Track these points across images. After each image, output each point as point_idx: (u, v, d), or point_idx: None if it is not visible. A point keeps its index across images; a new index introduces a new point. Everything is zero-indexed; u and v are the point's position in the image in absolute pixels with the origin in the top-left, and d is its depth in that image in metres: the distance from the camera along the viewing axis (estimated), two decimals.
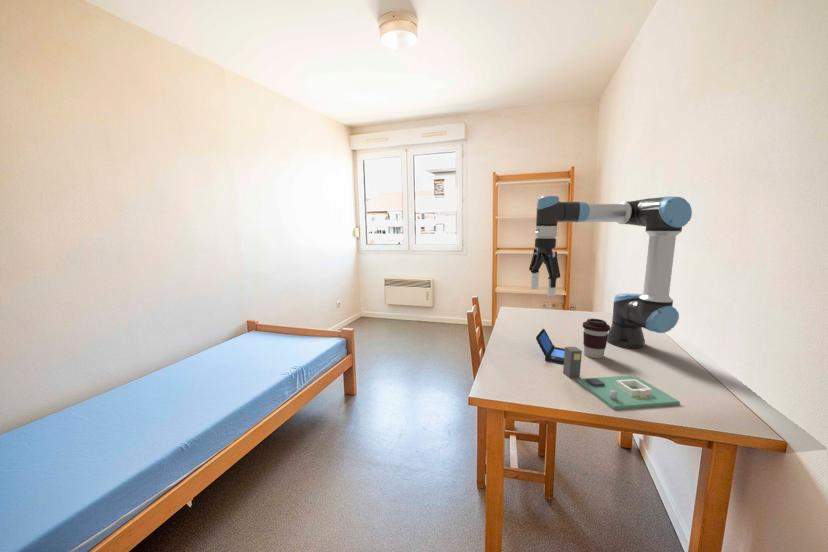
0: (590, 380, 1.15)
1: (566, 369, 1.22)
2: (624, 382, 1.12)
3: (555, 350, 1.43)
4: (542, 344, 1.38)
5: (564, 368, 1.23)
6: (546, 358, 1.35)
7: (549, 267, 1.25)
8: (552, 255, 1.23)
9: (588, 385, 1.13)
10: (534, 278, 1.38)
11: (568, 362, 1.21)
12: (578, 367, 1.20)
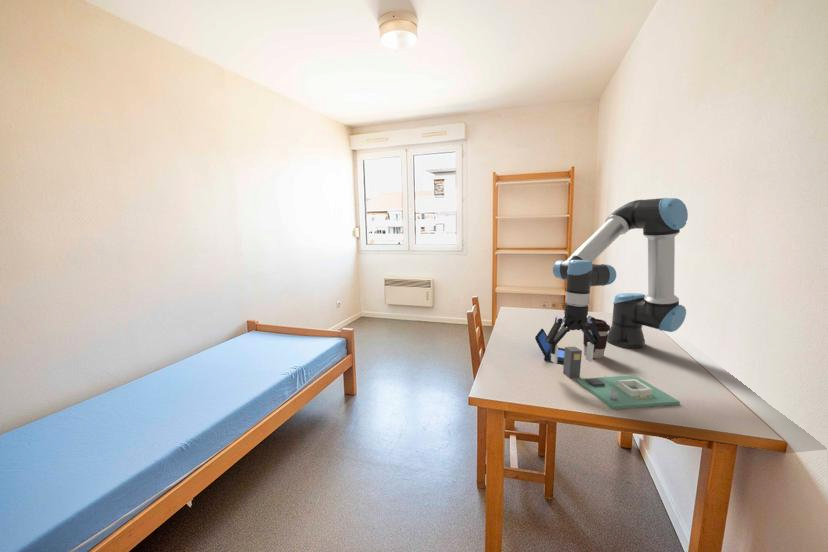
0: (590, 380, 1.15)
1: (566, 369, 1.22)
2: (624, 382, 1.12)
3: None
4: (541, 344, 1.38)
5: (564, 368, 1.23)
6: (545, 358, 1.35)
7: (557, 333, 1.20)
8: (556, 320, 1.19)
9: (588, 385, 1.13)
10: (588, 348, 1.22)
11: (568, 362, 1.21)
12: (578, 367, 1.20)
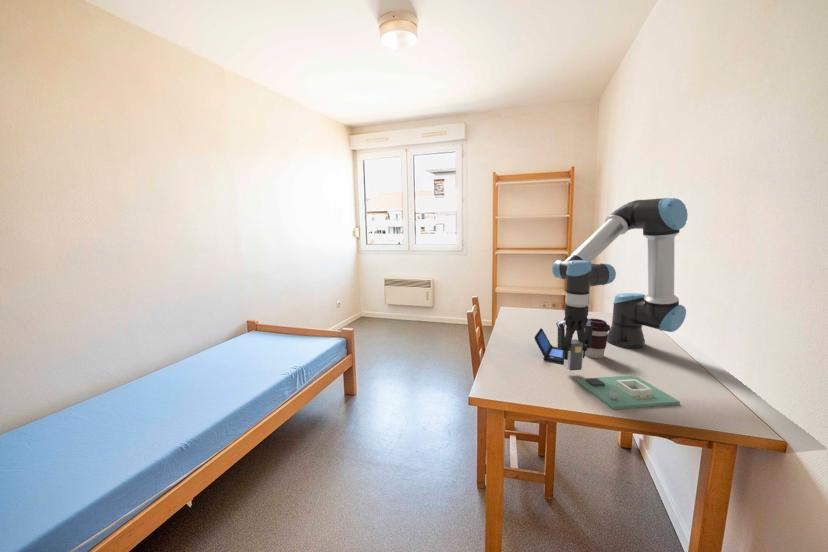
0: (590, 380, 1.15)
1: None
2: (624, 382, 1.12)
3: (553, 350, 1.44)
4: (540, 344, 1.38)
5: None
6: (545, 358, 1.36)
7: (565, 337, 1.21)
8: (558, 326, 1.20)
9: (588, 385, 1.13)
10: None
11: None
12: (579, 360, 1.20)
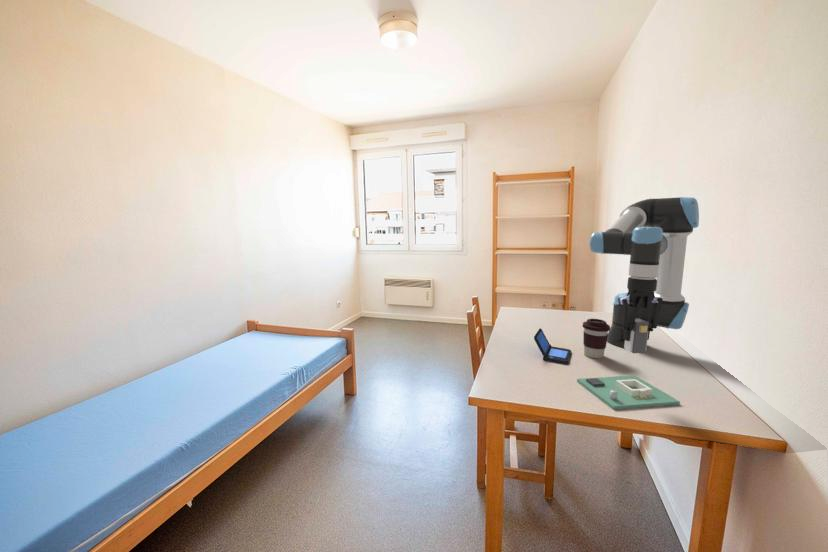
0: (590, 380, 1.15)
1: None
2: (624, 382, 1.12)
3: (552, 349, 1.44)
4: (540, 344, 1.38)
5: None
6: (544, 358, 1.36)
7: (627, 315, 1.06)
8: (620, 302, 1.05)
9: (588, 385, 1.13)
10: None
11: None
12: (644, 341, 1.05)
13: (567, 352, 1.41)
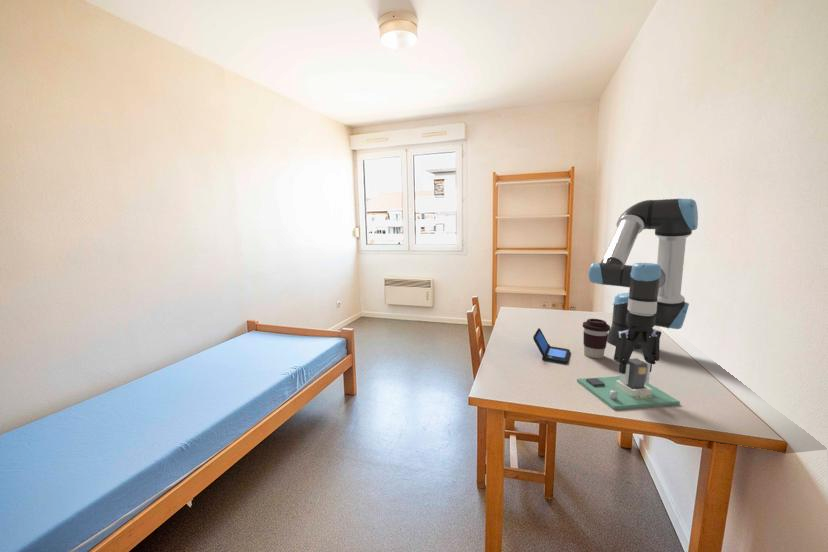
0: (590, 380, 1.15)
1: (628, 384, 1.09)
2: None
3: (551, 349, 1.44)
4: (539, 344, 1.39)
5: None
6: (543, 358, 1.36)
7: (624, 349, 1.08)
8: (618, 336, 1.06)
9: (588, 385, 1.13)
10: None
11: (631, 376, 1.07)
12: (642, 382, 1.07)
13: (566, 352, 1.41)
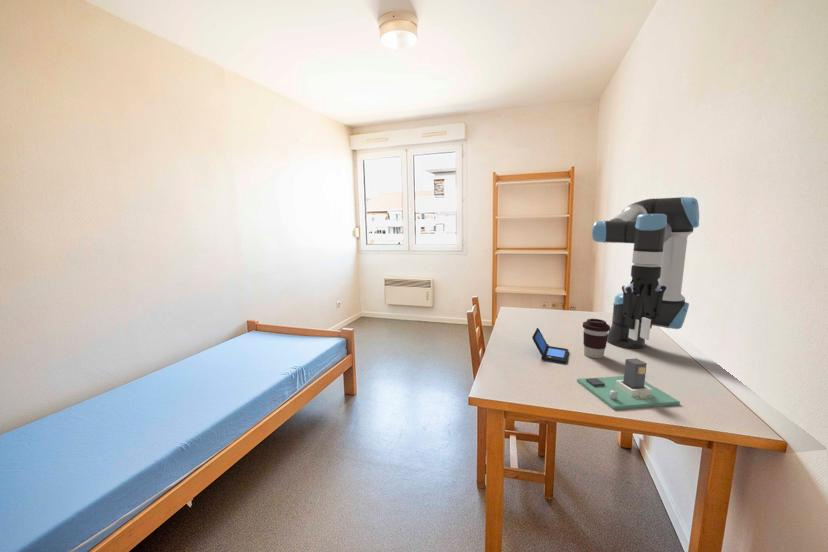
0: (590, 380, 1.15)
1: (628, 384, 1.09)
2: None
3: (550, 349, 1.44)
4: (538, 344, 1.39)
5: (624, 383, 1.10)
6: (543, 357, 1.36)
7: (631, 304, 1.05)
8: (624, 291, 1.04)
9: (588, 385, 1.13)
10: (643, 324, 1.07)
11: (631, 376, 1.07)
12: (642, 382, 1.07)
13: (565, 351, 1.42)
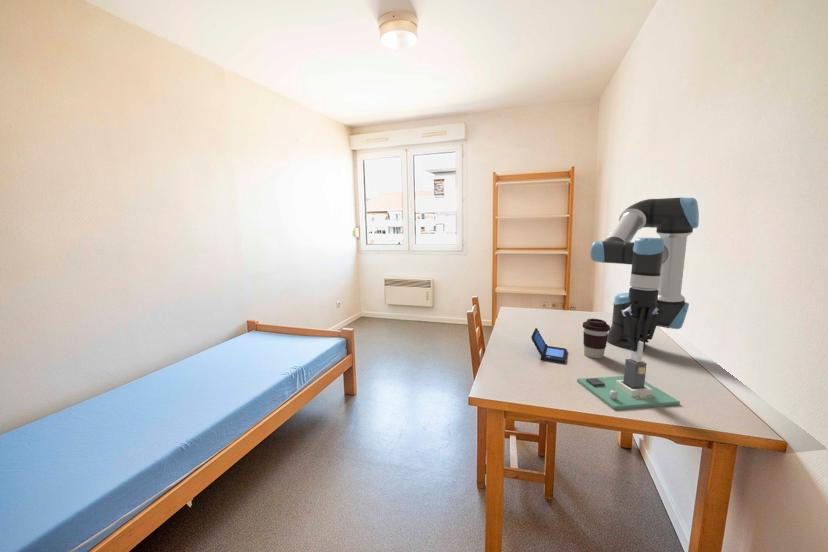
0: (590, 380, 1.15)
1: (628, 384, 1.09)
2: None
3: (548, 349, 1.45)
4: (537, 343, 1.39)
5: (624, 383, 1.10)
6: (542, 357, 1.36)
7: None
8: (623, 315, 1.05)
9: (588, 385, 1.13)
10: None
11: (631, 376, 1.07)
12: (642, 382, 1.07)
13: (563, 351, 1.42)
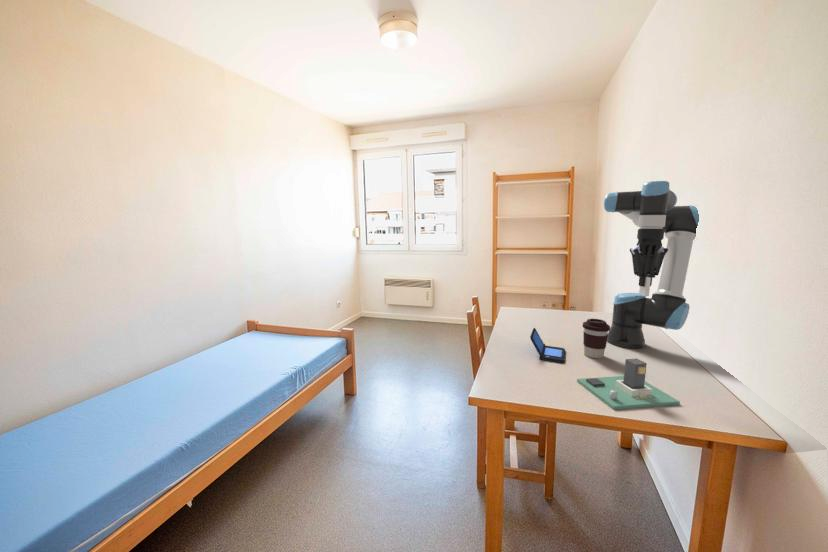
0: (590, 380, 1.15)
1: (628, 384, 1.09)
2: None
3: (547, 349, 1.45)
4: (536, 343, 1.39)
5: (624, 383, 1.10)
6: (541, 357, 1.36)
7: None
8: (632, 252, 1.17)
9: (588, 385, 1.13)
10: None
11: (631, 376, 1.07)
12: (642, 382, 1.07)
13: (562, 351, 1.43)
